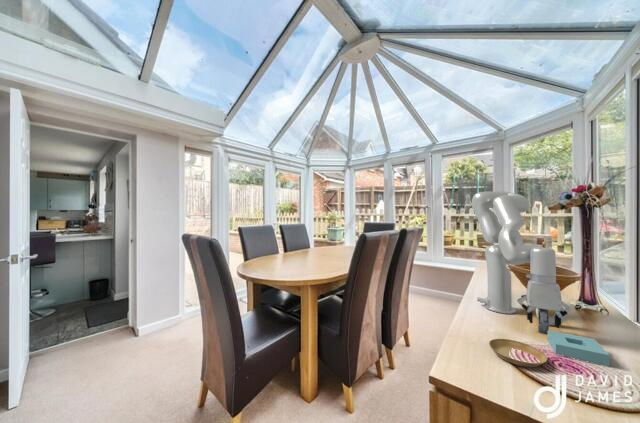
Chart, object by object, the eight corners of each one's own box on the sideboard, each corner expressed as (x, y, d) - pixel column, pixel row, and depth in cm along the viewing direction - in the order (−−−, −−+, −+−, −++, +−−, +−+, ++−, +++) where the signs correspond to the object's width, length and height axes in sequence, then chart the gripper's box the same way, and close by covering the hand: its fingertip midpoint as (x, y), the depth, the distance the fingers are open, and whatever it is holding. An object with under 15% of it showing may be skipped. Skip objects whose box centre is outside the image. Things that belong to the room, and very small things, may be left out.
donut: (563, 325, 104) (562, 301, 104) (568, 328, 101) (567, 303, 101) (534, 321, 107) (533, 298, 108) (538, 325, 104) (537, 301, 104)
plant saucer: (553, 378, 70) (553, 368, 70) (490, 361, 77) (490, 353, 77) (541, 354, 82) (541, 346, 82) (487, 341, 90) (487, 334, 90)
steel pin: (539, 333, 97) (538, 307, 97) (537, 330, 99) (537, 305, 100) (549, 335, 95) (549, 308, 95) (547, 332, 98) (547, 306, 98)
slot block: (555, 354, 81) (555, 343, 81) (547, 339, 91) (547, 330, 91) (609, 367, 75) (609, 355, 75) (594, 349, 85) (594, 339, 85)
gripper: (516, 277, 99) (516, 322, 99) (576, 284, 90) (577, 333, 89) (513, 274, 106) (514, 316, 105) (570, 280, 96) (571, 326, 96)
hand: (543, 324), depth 97 cm, fingers open, 7 cm apart
